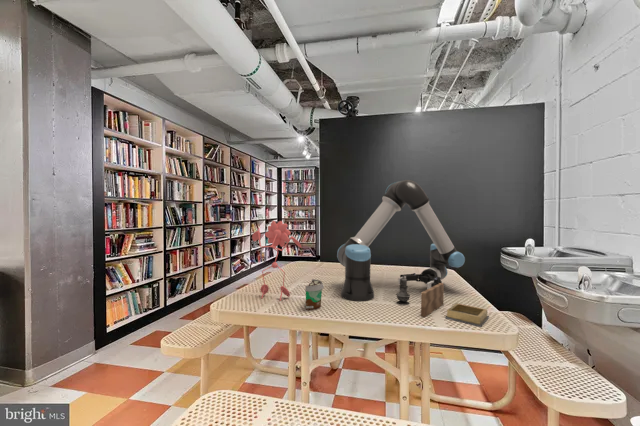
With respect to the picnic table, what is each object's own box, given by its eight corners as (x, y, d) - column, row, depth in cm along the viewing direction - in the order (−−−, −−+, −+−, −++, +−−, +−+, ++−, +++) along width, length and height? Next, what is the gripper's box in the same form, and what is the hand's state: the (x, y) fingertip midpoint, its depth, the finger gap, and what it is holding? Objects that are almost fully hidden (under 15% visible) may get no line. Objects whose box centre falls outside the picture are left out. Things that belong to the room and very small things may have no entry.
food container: (320, 312, 115) (320, 287, 115) (305, 311, 116) (305, 286, 116) (325, 302, 127) (326, 279, 127) (312, 301, 128) (312, 278, 128)
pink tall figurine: (296, 303, 125) (298, 221, 125) (244, 297, 133) (245, 220, 134) (309, 294, 140) (310, 221, 140) (262, 289, 148) (263, 220, 148)
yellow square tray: (480, 327, 102) (481, 318, 102) (445, 318, 110) (445, 310, 110) (489, 317, 111) (489, 309, 111) (455, 310, 119) (455, 302, 119)
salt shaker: (394, 301, 130) (394, 274, 130) (407, 300, 130) (407, 273, 130) (398, 305, 124) (399, 277, 124) (412, 305, 125) (412, 277, 124)
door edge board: (424, 317, 111) (425, 293, 111) (421, 316, 112) (421, 292, 112) (443, 304, 126) (443, 283, 126) (439, 303, 127) (440, 282, 127)
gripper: (456, 287, 142) (440, 297, 126) (407, 279, 159) (388, 286, 143) (456, 272, 142) (440, 280, 126) (407, 265, 159) (388, 271, 143)
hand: (412, 283), depth 134 cm, fingers open, 13 cm apart
